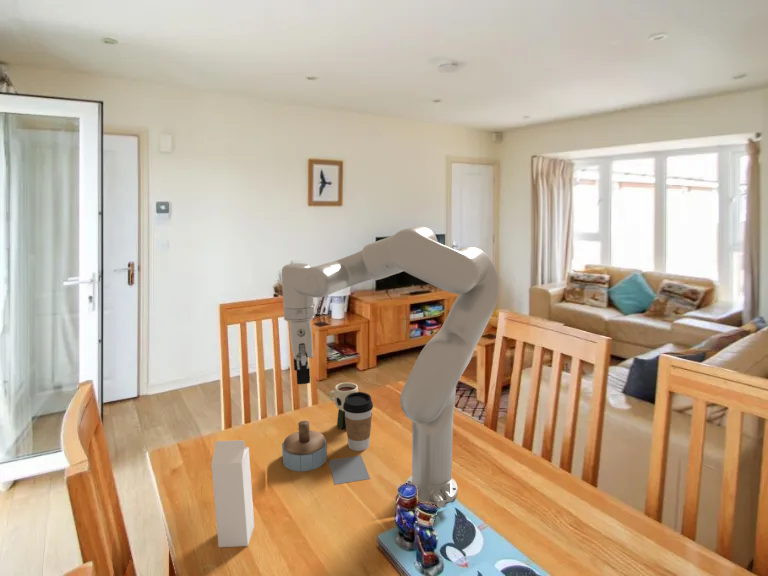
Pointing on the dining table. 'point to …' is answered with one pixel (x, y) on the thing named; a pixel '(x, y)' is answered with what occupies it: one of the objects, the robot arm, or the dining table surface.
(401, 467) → the dining table surface
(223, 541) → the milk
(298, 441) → the lid
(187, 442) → the dining table surface
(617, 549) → the dining table surface
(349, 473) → the mat
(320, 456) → the bowl
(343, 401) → the character mug
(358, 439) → the coffee cup
